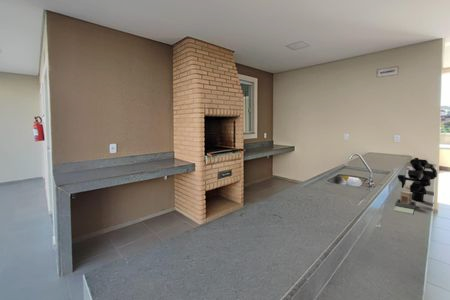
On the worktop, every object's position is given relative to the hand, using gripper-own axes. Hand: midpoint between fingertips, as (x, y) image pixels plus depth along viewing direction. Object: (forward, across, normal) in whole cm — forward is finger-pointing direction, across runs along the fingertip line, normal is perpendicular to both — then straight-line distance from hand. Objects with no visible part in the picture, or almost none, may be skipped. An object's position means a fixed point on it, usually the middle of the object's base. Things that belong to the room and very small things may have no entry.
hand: (409, 189), depth 163 cm
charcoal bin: (+13, 0, +4) cm, 13 cm away
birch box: (+12, 0, +4) cm, 13 cm away
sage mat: (+21, +3, -4) cm, 21 cm away
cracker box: (-27, -14, +45) cm, 54 cm away
